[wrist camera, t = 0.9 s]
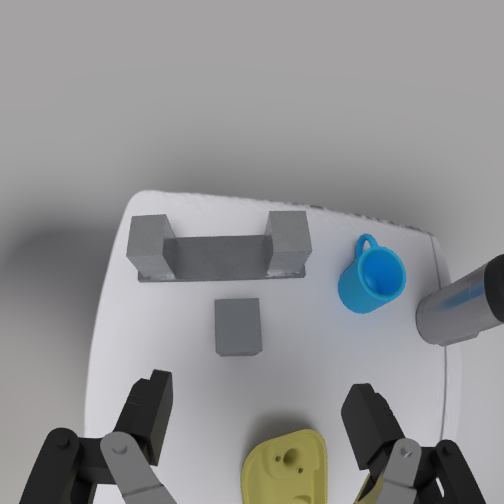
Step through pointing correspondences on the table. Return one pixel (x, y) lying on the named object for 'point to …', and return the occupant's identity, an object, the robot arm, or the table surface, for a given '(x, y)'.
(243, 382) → the table surface
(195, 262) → the rail
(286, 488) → the plastic component
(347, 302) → the mug
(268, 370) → the table surface
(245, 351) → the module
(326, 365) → the table surface
